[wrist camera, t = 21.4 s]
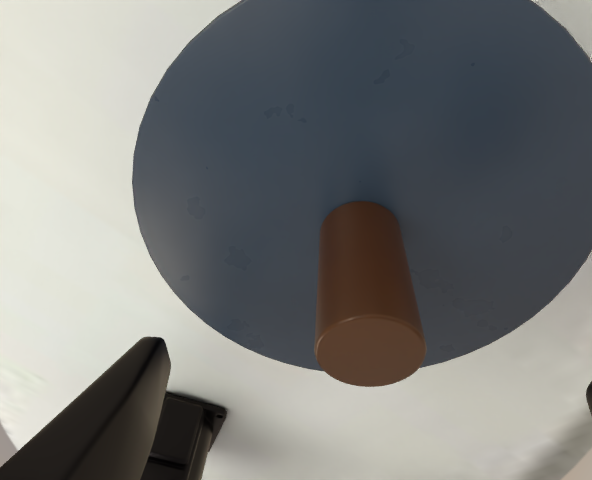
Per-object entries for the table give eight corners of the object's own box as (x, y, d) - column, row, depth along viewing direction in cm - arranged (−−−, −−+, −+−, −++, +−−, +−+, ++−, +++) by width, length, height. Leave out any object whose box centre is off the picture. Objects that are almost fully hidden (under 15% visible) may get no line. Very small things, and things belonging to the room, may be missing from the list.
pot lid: (433, 385, 18) (466, 531, 14) (124, 293, 16) (44, 428, 12) (725, 90, 10) (1019, 208, 6) (191, -160, 8) (30, -267, 4)
